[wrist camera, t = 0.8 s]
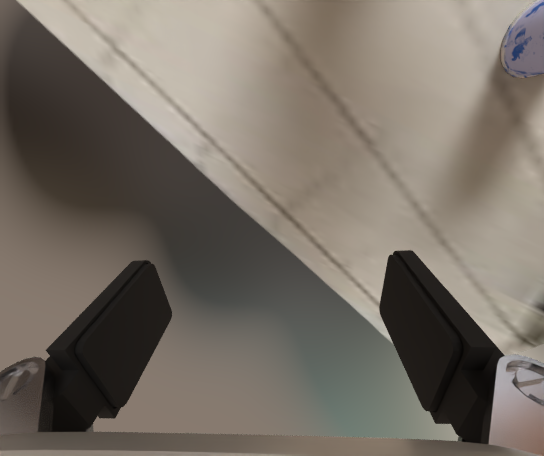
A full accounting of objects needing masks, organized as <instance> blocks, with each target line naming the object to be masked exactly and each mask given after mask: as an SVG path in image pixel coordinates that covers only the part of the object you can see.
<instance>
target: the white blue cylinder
mask: <svg viewBox="0 0 544 456" xmlns="http://www.w3.org/2000/svg"><path fill="white" fill-rule="evenodd" d="M501 63H502V65H503V67H504V69H505V71H506V72H507V73H509V74H510V75H511V76H513V77H519V78H527V77H532V76H537V75H539V74H544V0H536V1H534V2H533V3H531V4H530V5H528V6H527V7H526V8H525V9H524V10H523V11H522V12H520V13H519V14H518V16H517V17H516V18H515V20H514V21H513V22H512V24H511V25H510V26H509V28H508V30H507V32H506V34H505V37H504V39H503V43H502V47H501Z"/></svg>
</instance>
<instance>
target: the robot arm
mask: <svg viewBox="0 0 544 456" xmlns="http://www.w3.org/2000/svg"><path fill="white" fill-rule="evenodd" d="M380 315H381V317H382V319H383V322H384V324H385V326H386V328H387V330H388V333H389V335H390V337H391V339H392V341H393V344H394V346H395V348H396V350H397V352H398V355H399V357H400V359H401V361H402V363H403V366H404V368H405V370H406V372H407V374H408V377H409V379H410V381H411V383H412V385H413V388H414V390H415V392H416V394H417V396H418V399H419V401H420V403H421V405H422V407H423V408H424V409H425V410H426V411H430V413H431V415H432V417H433V420H434V422H435V423H436V424H451V425H452V427H453V428H454V430H455V432H456V434H457V435H458V436H459V437H458V441H442V440H420V439H398V438H367V437H329V436H293V435H292V436H291V435H247V434H243V435H242V434H197V433H138V432H135V433H133V432H94V431H93V422H94V421H95V419H96V417H97V416H98V417H99V418H115V417H116V416H117V414H118V412H119V410H120V408H121V407H123V406H124V405H125V404H126V403H127V401H128V400H129V398H130V396H131V394H132V392H133V390H134V388H135V386H136V385H137V383H138V381H139V379H140V377H141V375H142V373H143V371H144V369H145V367H146V366H147V364H148V362H149V360H150V358H151V356H152V354H153V352H154V350H155V349H156V347H157V345H158V343H159V341H160V339H161V337H162V335H163V333H164V331H165V329H166V328H167V326H168V324H169V322H170V320H171V317H172V311H171V308H170V305H169V303H168V300H167V297H166V295H165V292H164V289H163V286H162V284H161V281H160V278H159V276H158V273H157V271H156V268H155V266H154V265H153V264H151V262H149V261H146V260H144V261H133V262H131V263H130V264H129V265H128V266H127V267H126V268H125V269H124V270H123V271H122V272H121V273H120V274H119V275H118V276H117V277H116V279H114V280H113V281H112V282H111V284H110V285H109V286H108V287H107V288H106V289H105V290H104V291H103V292H102V293H101V294H100V295H99V296H98V297H97V298H96V299H95V300H94V301H93V302H92V303H91V304H90V305H89V306H88V307H87V308H86V309H85V311H83V312H82V314H80V315H79V317H78V318H77V319H76V320H75V321H74V322H73V323H72V324H71V325H70V326H69V327H68V328H67V329H66V330H65V331H64V332H63V333H62V334H61V335H60V336H59V337H58V338H57V339H56V340H55V341H54V342H53V343H52V344H51V345H50V346H49V347H48V349H47V350H46V351H47V352H48V354H49V355H50V357H49V358H48V359H47V360H46V361H45V360H43V359H42V358H40V357H32V358H27V359H24V360H21V361H19V362H16V363H14V364H12V365H11V366H9V367H7V368H5V369H4V370H2V371H1V372H0V456H544V363H542V362H540V361H538V360H535V359H532V358H529V357H526V356H521V355H515V354H514V355H504V354H503V353H502V352H501V351H500V350H499V349H498V347H497V346H496V345H495V344H494V343H493V342H492V341H491V339H490V338H489V337H488V336H487V335H486V334H485V333H484V331H483V330H482V329H481V328H480V327H479V326H478V325H477V323H476V322H475V321H474V320H473V319H472V318H471V317H470V315H469V314H468V313H467V312H466V311H465V310H464V309H463V307H462V306H461V305H460V304H459V303H458V302H457V301H456V299H455V298H454V297H453V296H452V295H451V294H450V293H449V291H448V290H447V289H446V288H445V287H444V286H443V285H442V284H441V283H440V282H439V280H438V279H437V278H436V277H435V276H434V275H433V273H432V272H431V271H430V270H429V269H428V268H427V267H426V265H425V264H424V263H423V262H422V261H421V260H420V259H419V257H418V256H417V255H416V254H415V253H414V252H413V251H411V250H408V251H395V252H394V253H393V255H389V257H388V262H387V267H386V273H385V279H384V284H383V290H382V296H381V301H380Z"/></svg>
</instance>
